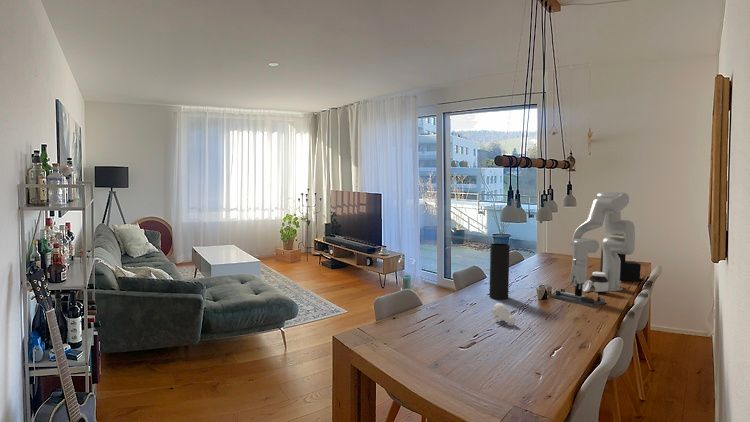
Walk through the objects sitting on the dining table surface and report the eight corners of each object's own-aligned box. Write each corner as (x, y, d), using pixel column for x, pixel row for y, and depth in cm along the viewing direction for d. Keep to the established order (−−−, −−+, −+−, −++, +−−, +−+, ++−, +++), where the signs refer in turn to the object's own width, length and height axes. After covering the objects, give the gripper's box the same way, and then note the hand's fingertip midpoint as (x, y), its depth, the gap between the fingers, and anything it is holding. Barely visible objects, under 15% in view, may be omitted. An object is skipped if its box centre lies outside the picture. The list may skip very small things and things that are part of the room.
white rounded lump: (500, 301, 217) (520, 309, 207) (498, 317, 219) (518, 327, 209) (491, 302, 214) (510, 311, 204) (489, 320, 215) (509, 329, 205)
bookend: (636, 278, 305) (638, 243, 303) (643, 281, 294) (645, 245, 292) (599, 276, 308) (601, 242, 306) (605, 280, 297) (606, 245, 296)
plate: (563, 293, 265) (563, 287, 265) (605, 302, 246) (605, 296, 246) (550, 297, 256) (550, 291, 256) (592, 307, 237) (592, 300, 237)
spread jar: (610, 293, 264) (611, 274, 263) (595, 295, 260) (596, 275, 259) (593, 289, 275) (594, 270, 274) (579, 290, 271) (579, 271, 270)
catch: (588, 298, 249) (588, 291, 248) (597, 300, 245) (598, 292, 244) (584, 299, 246) (584, 292, 245) (593, 301, 242) (593, 294, 241)
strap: (561, 292, 260) (561, 290, 260) (586, 297, 249) (586, 295, 249) (557, 293, 258) (557, 291, 258) (582, 298, 247) (582, 296, 247)
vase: (508, 300, 250) (510, 246, 247) (489, 299, 252) (491, 245, 250) (507, 295, 260) (508, 243, 258) (489, 294, 262) (490, 243, 260)
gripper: (579, 260, 256) (578, 292, 257) (566, 263, 247) (564, 296, 248) (593, 262, 250) (591, 295, 252) (579, 265, 241) (578, 299, 242)
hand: (578, 295), depth 250 cm, fingers closed
